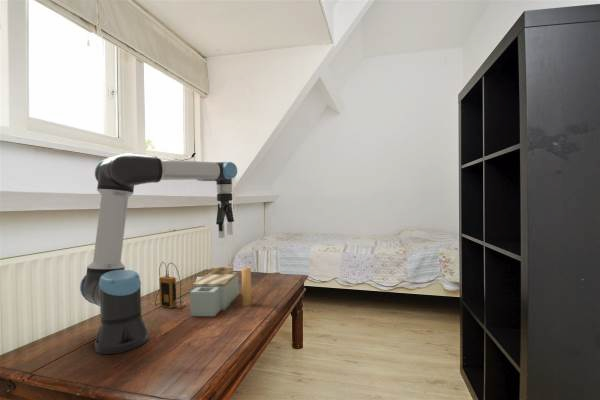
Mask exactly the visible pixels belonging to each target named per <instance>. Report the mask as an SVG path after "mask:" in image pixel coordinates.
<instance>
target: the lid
mask: <svg viewBox="0 0 600 400" xmlns="http://www.w3.org/2000/svg"><path fill="white" fill-rule="evenodd" d="M233 268H234V267H233V266H212V267H211V268H210V272H208V273H207V274H205V275H203V276H202V277H201V278H199V279H197V280H196V281H194V282H193V283H192V287H193V286H225V285H226V284H227V283H228V282H230V281H231V280H232V279H233V278H234V277H235V276H236V275H238V276H239V271H233V270H234V269H233Z"/></svg>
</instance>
